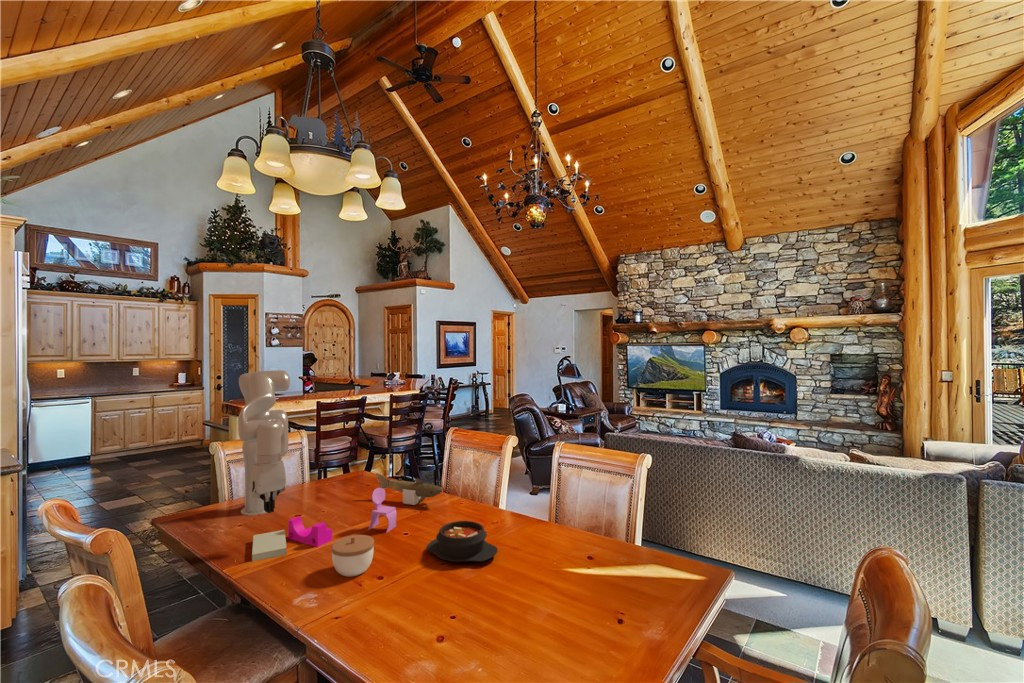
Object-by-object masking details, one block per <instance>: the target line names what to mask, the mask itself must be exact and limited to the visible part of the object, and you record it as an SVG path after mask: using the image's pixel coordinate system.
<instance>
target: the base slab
mask: <svg viewBox="0 0 1024 683" xmlns="http://www.w3.org/2000/svg"><path fill="white" fill-rule="evenodd" d="M251 549H252V551H251V552H252V553H251V561H252V562H256V561H260V560H266V559H273V558H277V557H283V556H287V554H288V553H287V539H286V530H285V529H281V530H280V529H279V530H277V531H270V532H266V533H265V532H263V533H259V534H253V538H252V548H251Z"/></svg>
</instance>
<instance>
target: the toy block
mask: <svg viewBox="0 0 1024 683" xmlns="http://www.w3.org/2000/svg"><path fill="white" fill-rule="evenodd" d="M287 523H288V529H287V530H288V539H289V540H291V541H295V542H299V543H302V544H306V545H310V546H313V547H317V548H318V547H321V546H323V545H325V544H327V543H329V542H331V541H333V529H332V528H330V527H327V523H326V522H323V521H320V522H319V523H318V522H317V523H316V524H314V525H313V524H312V526H310V527H308V528H306V527H305V525H304V523H303V521H302V517H301V516H296V517H293V518H290V519H288V522H287Z"/></svg>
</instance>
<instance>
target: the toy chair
mask: <svg viewBox="0 0 1024 683" xmlns="http://www.w3.org/2000/svg"><path fill="white" fill-rule="evenodd" d="M384 500H386V490H385V488H380V487H376V488H375V489H374V490H373V492H372V494H371V502H373V503H374V509H372V510H371V514H370V524H369V527H368V529H367V530H368V531H370V530H371V529H373V528H374V527H376V526H378V525H379V524H380V522H379V518H380V515H381V516H385V517H386V519H387V521H388V526H387V529H386V531H385V533H389V532H390V531H391V530H393V529H394V528H396V527H397V509H396V506H387V505H384V504H382V503H383V502H384Z"/></svg>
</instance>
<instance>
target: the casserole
mask: <svg viewBox="0 0 1024 683" xmlns="http://www.w3.org/2000/svg"><path fill="white" fill-rule="evenodd" d="M487 536H488V534H487V531H486V529H484V526H483V525H482V524H480V523H478V522H477V521H471V520H460V521H458V520H457V521H453V522H449V523H446V524H444V525H443V526H442V527H440V529H439V530H438V533H437V534H436V537H435V538H434V539H433V540H431V541H430V542H429V543H428V544H427V545H426V550H427V551H428V552H430V553H432V554H434V555H435V556H436V557H438V558H439V559H441V560H444V561H447V562H455V563H457V562H459V563H460V562H462V563H463V562H476V563H479V562H480V563H481V562H482V563H483V562H486V561H488V560H489V559H492V558H493V557H495V555H497V553H498V551H499V550H498V549H499V548H498V547H497V546H496V545H494V544H491V543H489V542H487V541H486V540H485V539H486V538H487Z"/></svg>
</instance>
